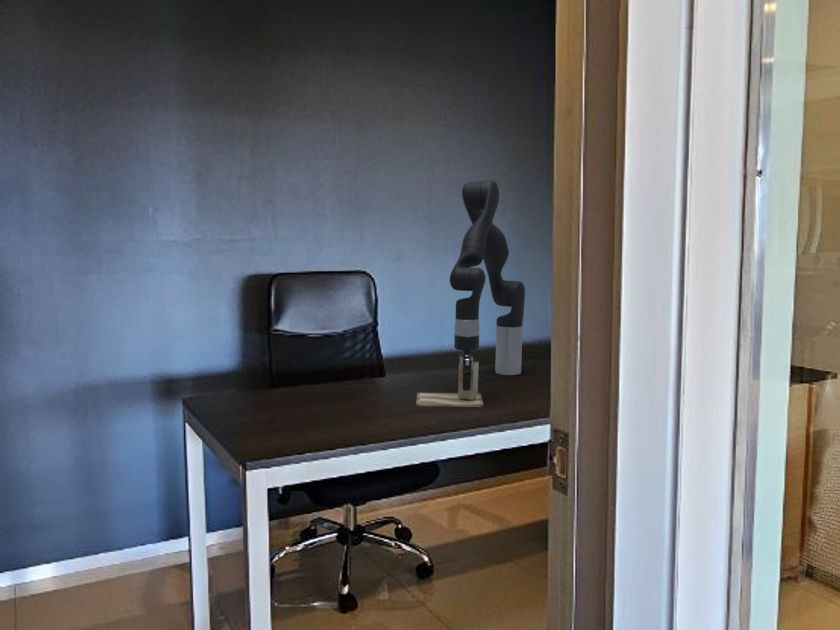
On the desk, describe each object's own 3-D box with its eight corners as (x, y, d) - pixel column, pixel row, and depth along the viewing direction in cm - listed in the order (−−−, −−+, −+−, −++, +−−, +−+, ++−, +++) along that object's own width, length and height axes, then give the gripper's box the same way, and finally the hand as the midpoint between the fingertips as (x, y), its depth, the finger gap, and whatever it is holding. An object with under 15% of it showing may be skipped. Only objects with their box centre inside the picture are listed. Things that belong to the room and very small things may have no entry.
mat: (417, 394, 233) (417, 392, 233) (480, 395, 233) (480, 393, 233) (416, 406, 219) (416, 404, 219) (483, 407, 219) (483, 405, 219)
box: (457, 397, 225) (457, 362, 223) (462, 394, 229) (463, 359, 227) (473, 399, 223) (473, 364, 221) (478, 396, 226) (479, 361, 225)
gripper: (453, 329, 230) (453, 382, 233) (455, 337, 216) (454, 393, 218) (477, 329, 230) (476, 382, 232) (480, 337, 216) (479, 393, 218)
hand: (465, 387), depth 225 cm, fingers closed on box, 5 cm apart
